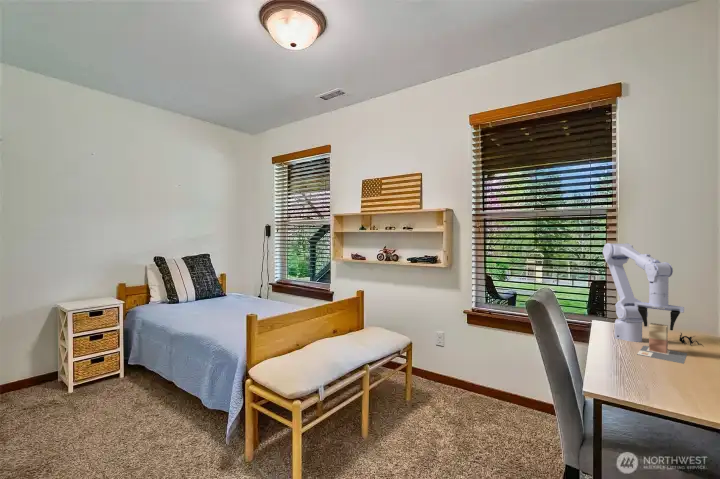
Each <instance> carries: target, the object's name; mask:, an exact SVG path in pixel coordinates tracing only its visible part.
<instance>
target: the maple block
mask: <svg viewBox="0 0 720 479" xmlns="http://www.w3.org/2000/svg"><path fill="white" fill-rule="evenodd" d="M648 328H649V330H648V333H649V334H648V337H649V338H653V339H659V340H665V341H666V340H667V338H668V339H669V335H668V332H669V325H667V324H662V323H653V322H651V323H649V325H648ZM649 338H648V339H649Z"/></svg>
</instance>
